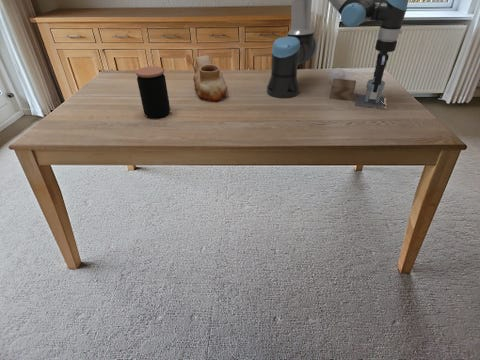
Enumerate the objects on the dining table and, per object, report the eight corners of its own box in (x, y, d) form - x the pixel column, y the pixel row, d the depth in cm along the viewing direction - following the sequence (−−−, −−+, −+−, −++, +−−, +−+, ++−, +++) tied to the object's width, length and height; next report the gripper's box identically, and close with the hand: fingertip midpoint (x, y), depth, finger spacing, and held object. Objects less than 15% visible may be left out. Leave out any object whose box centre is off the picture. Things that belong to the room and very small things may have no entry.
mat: (355, 105, 133) (355, 104, 133) (356, 94, 143) (356, 93, 143) (387, 109, 130) (387, 108, 129) (386, 98, 139) (386, 97, 139)
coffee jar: (175, 110, 131) (169, 67, 120) (162, 121, 123) (154, 76, 112) (153, 107, 134) (145, 65, 123) (139, 117, 126) (129, 73, 115)
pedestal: (329, 98, 140) (331, 85, 136) (331, 90, 147) (333, 78, 143) (352, 101, 137) (355, 88, 133) (353, 93, 144) (356, 80, 141)
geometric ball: (331, 88, 156) (323, 75, 154) (340, 79, 159) (332, 66, 156) (341, 85, 150) (334, 71, 147) (351, 76, 152) (343, 62, 149)
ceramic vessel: (216, 81, 159) (214, 51, 150) (231, 100, 139) (230, 67, 130) (190, 85, 155) (186, 54, 146) (201, 104, 136) (198, 70, 126)
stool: (363, 101, 134) (367, 83, 129) (363, 96, 139) (367, 78, 134) (380, 104, 132) (385, 85, 127) (380, 97, 137) (384, 80, 132)
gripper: (399, 46, 112) (382, 105, 126) (396, 34, 127) (381, 88, 141) (377, 44, 114) (362, 103, 128) (377, 33, 129) (364, 86, 143)
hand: (372, 95), depth 134 cm, fingers closed on stool, 7 cm apart
